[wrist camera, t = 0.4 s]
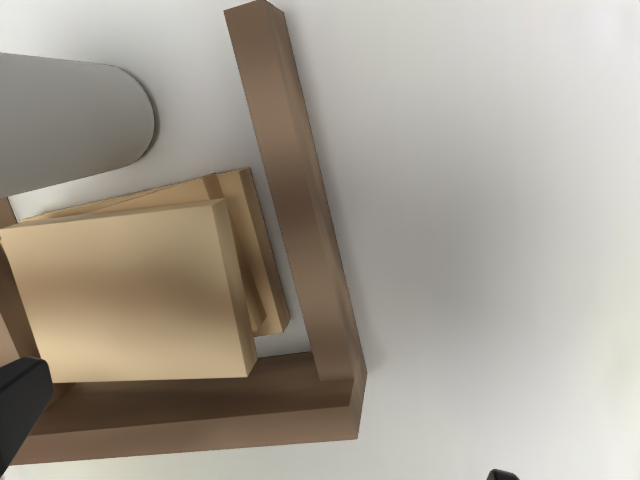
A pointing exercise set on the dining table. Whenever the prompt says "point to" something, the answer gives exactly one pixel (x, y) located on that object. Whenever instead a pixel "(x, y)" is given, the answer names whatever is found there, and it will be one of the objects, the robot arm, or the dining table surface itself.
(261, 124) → the offcut rack
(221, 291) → the offcut stack
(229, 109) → the dining table surface
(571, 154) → the dining table surface
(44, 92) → the beverage can
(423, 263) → the dining table surface
